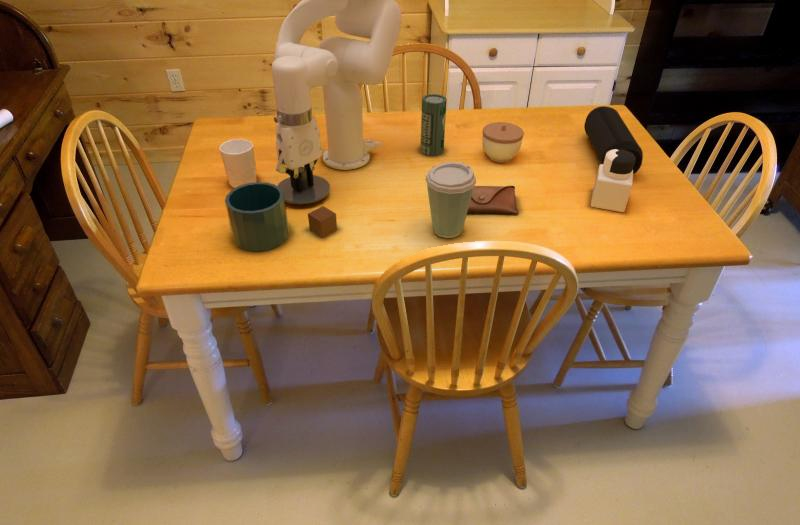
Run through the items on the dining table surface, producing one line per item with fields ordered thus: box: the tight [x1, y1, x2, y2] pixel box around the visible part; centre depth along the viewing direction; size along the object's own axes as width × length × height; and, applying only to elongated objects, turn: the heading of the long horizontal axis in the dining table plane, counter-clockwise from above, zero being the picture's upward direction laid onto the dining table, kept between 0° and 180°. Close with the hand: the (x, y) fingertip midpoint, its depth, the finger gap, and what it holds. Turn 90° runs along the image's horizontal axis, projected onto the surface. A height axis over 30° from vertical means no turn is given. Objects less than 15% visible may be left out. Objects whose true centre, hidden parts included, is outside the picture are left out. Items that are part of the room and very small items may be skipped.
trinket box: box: [481, 121, 525, 163], centre depth 150 cm, size 11×11×9 cm
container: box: [590, 149, 636, 213], centre depth 132 cm, size 8×8×13 cm
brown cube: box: [307, 205, 338, 239], centre depth 124 cm, size 4×4×4 cm
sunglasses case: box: [467, 185, 520, 215], centre depth 133 cm, size 18×7×7 cm
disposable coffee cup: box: [425, 161, 477, 239], centre depth 121 cm, size 11×11×15 cm
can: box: [419, 93, 448, 157], centre depth 150 cm, size 6×6×15 cm
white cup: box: [218, 138, 258, 189], centre depth 138 cm, size 8×8×10 cm
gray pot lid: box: [276, 166, 331, 205], centre depth 134 cm, size 13×13×6 cm
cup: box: [224, 181, 290, 253], centre depth 121 cm, size 12×12×10 cm
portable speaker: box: [583, 105, 644, 175], centre depth 150 cm, size 26×10×10 cm, turn 178°
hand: (302, 186), depth 135 cm, fingers closed on gray pot lid, 2 cm apart
